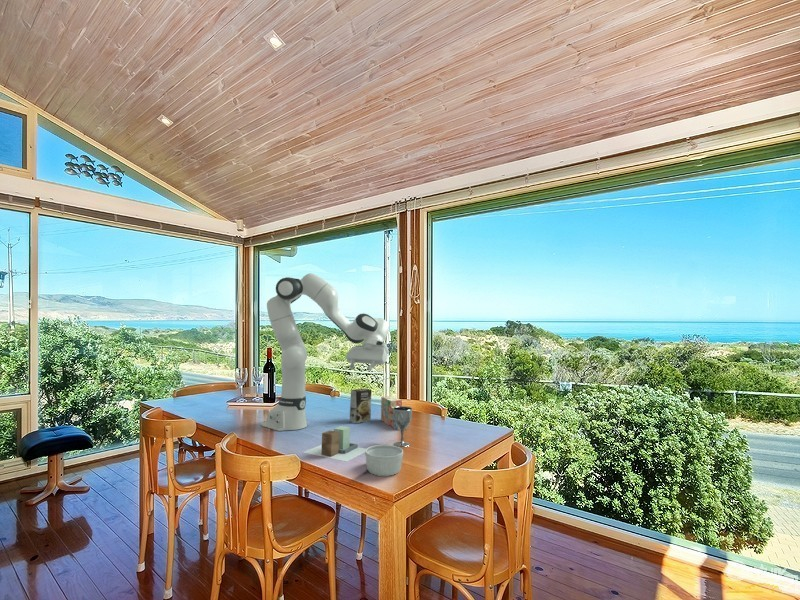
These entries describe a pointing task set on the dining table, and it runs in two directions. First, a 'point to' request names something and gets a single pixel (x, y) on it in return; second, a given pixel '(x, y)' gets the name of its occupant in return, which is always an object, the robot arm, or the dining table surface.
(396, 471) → the ramekin
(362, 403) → the coffee box
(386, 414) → the colourful cardboard box
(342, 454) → the board
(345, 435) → the sage block
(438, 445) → the dining table surface
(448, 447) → the dining table surface
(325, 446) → the walnut block
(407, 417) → the wine glass
